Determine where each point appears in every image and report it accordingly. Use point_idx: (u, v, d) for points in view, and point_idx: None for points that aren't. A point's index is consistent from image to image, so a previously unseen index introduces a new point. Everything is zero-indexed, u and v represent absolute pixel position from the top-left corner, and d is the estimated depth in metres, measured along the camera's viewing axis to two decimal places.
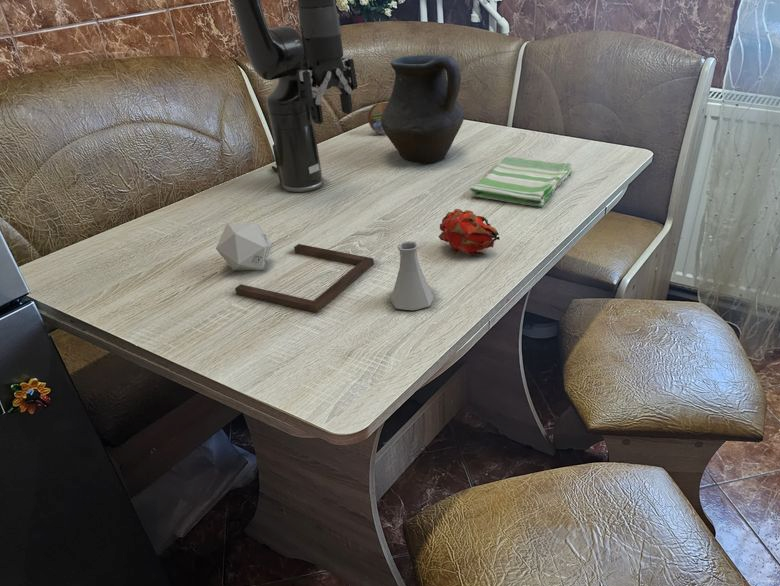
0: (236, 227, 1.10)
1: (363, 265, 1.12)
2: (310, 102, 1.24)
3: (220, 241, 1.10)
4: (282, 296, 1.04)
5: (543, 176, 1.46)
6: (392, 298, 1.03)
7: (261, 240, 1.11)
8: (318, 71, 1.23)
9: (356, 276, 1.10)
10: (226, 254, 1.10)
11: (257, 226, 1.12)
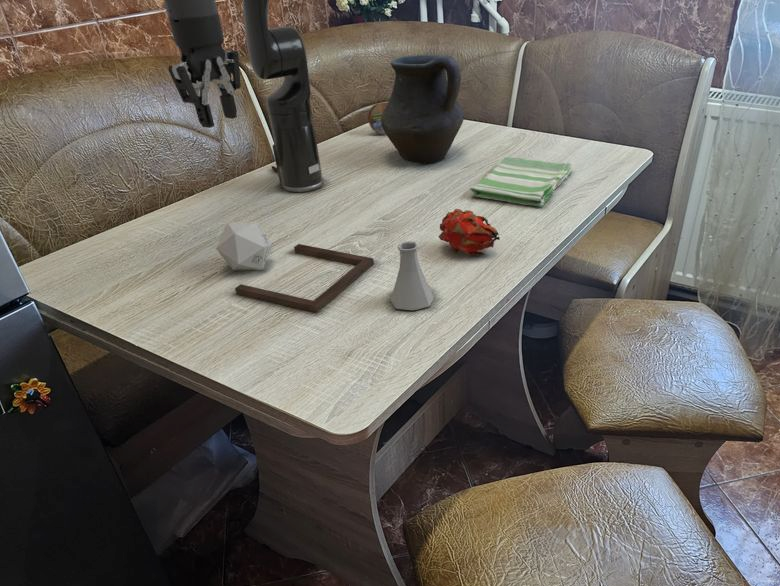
0: (236, 227, 1.10)
1: (363, 265, 1.12)
2: (196, 102, 1.02)
3: (220, 241, 1.10)
4: (282, 296, 1.04)
5: (543, 176, 1.46)
6: (392, 298, 1.03)
7: (261, 240, 1.11)
8: (194, 60, 1.00)
9: (356, 276, 1.10)
10: (226, 254, 1.10)
11: (257, 226, 1.12)
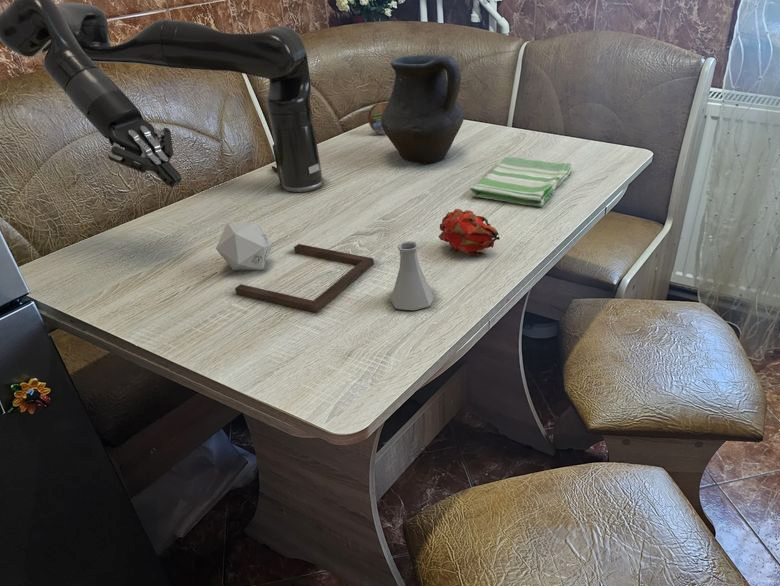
0: (236, 227, 1.10)
1: (363, 265, 1.12)
2: (148, 162, 1.08)
3: (220, 241, 1.10)
4: (282, 296, 1.04)
5: (543, 176, 1.46)
6: (392, 298, 1.03)
7: (261, 240, 1.11)
8: (118, 135, 1.06)
9: (356, 276, 1.10)
10: (226, 254, 1.10)
11: (257, 226, 1.12)
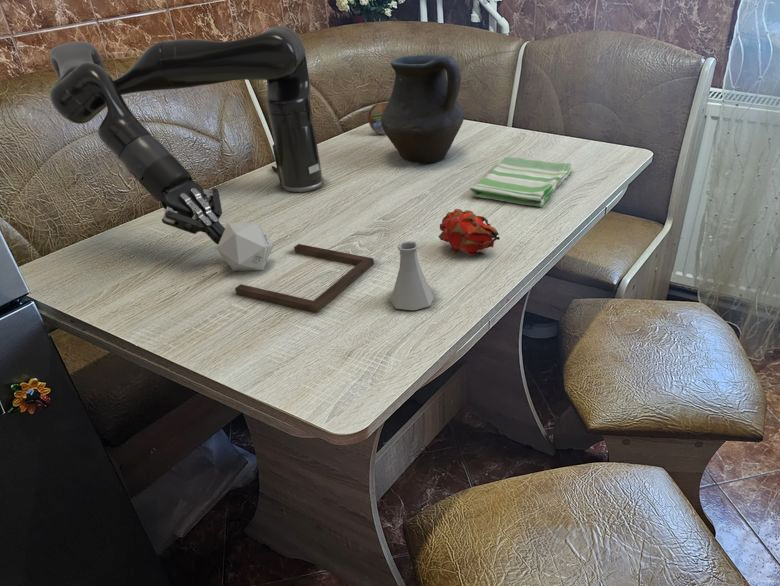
0: (236, 227, 1.10)
1: (363, 265, 1.12)
2: (200, 224, 1.11)
3: (221, 241, 1.10)
4: (282, 296, 1.04)
5: (543, 176, 1.46)
6: (392, 298, 1.03)
7: (262, 240, 1.11)
8: (170, 199, 1.09)
9: (356, 276, 1.10)
10: (227, 254, 1.10)
11: (258, 226, 1.12)
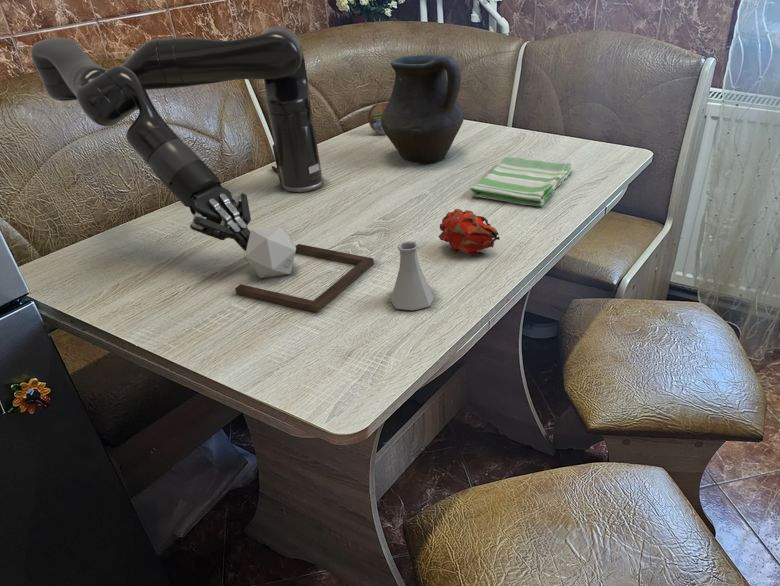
0: (264, 233, 1.08)
1: (363, 265, 1.12)
2: (228, 231, 1.08)
3: (248, 248, 1.08)
4: (282, 296, 1.04)
5: (543, 176, 1.46)
6: (392, 298, 1.03)
7: (291, 243, 1.09)
8: (199, 204, 1.07)
9: (356, 276, 1.10)
10: (257, 261, 1.07)
11: (283, 230, 1.10)
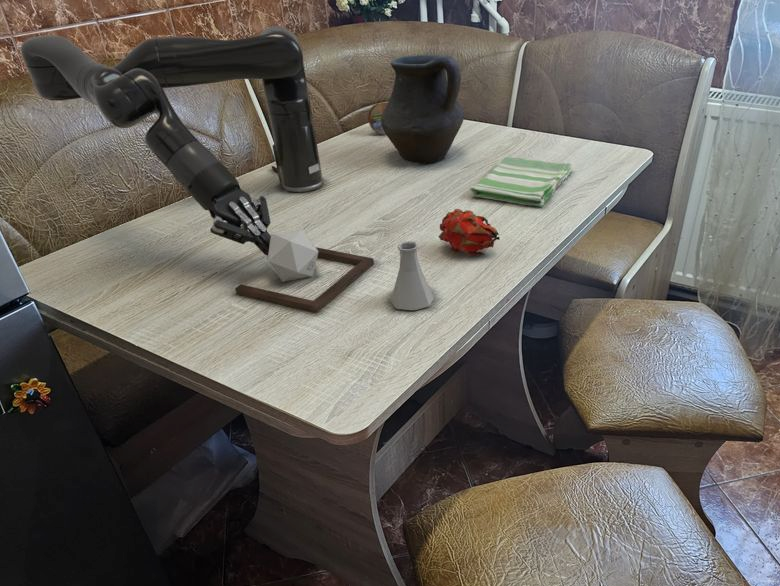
0: (286, 236, 1.07)
1: (363, 265, 1.12)
2: (249, 234, 1.07)
3: (271, 252, 1.06)
4: (282, 296, 1.04)
5: (543, 176, 1.46)
6: (392, 298, 1.03)
7: (313, 245, 1.09)
8: (219, 208, 1.05)
9: (356, 276, 1.10)
10: (282, 264, 1.06)
11: (304, 232, 1.09)
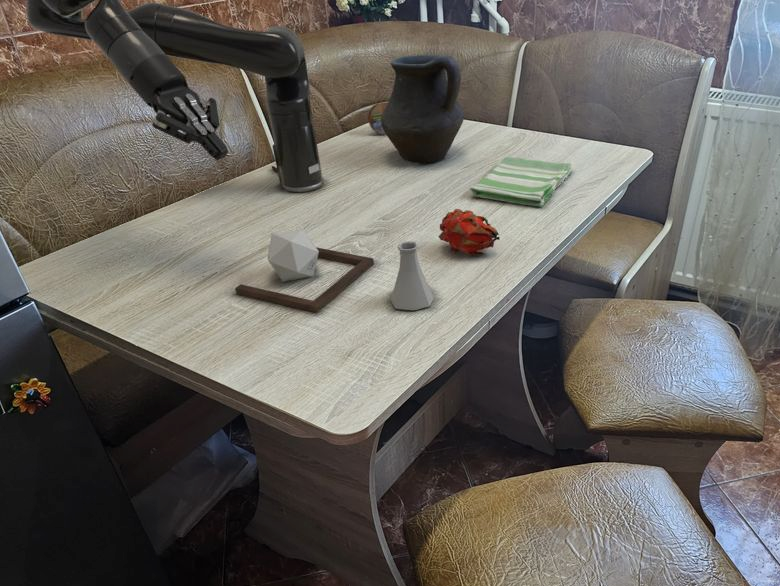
0: (286, 236, 1.07)
1: (363, 265, 1.12)
2: (194, 132, 1.00)
3: (271, 252, 1.06)
4: (282, 296, 1.04)
5: (543, 176, 1.46)
6: (392, 298, 1.03)
7: (313, 245, 1.09)
8: (163, 101, 0.99)
9: (356, 276, 1.10)
10: (282, 264, 1.06)
11: (305, 232, 1.09)
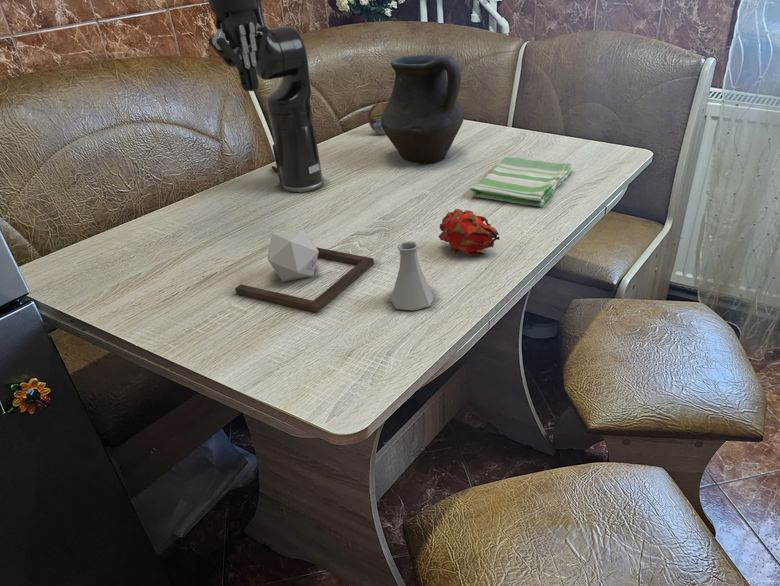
0: (286, 236, 1.07)
1: (363, 265, 1.12)
2: (241, 65, 1.07)
3: (271, 252, 1.06)
4: (282, 296, 1.04)
5: (543, 176, 1.46)
6: (392, 298, 1.03)
7: (313, 245, 1.09)
8: (228, 25, 1.03)
9: (356, 276, 1.10)
10: (282, 264, 1.06)
11: (305, 232, 1.09)
